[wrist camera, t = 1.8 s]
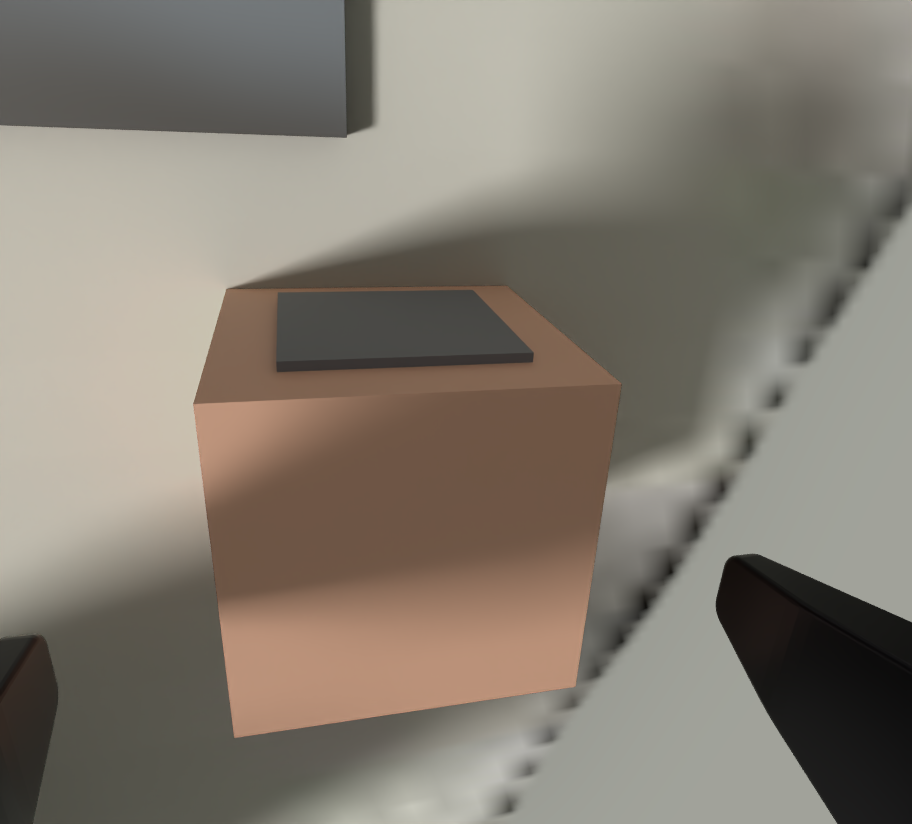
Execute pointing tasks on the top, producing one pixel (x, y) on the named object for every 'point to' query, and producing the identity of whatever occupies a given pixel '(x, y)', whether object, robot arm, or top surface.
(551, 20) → the top surface
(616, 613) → the top surface
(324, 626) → the terracotta cube
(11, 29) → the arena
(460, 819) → the top surface
